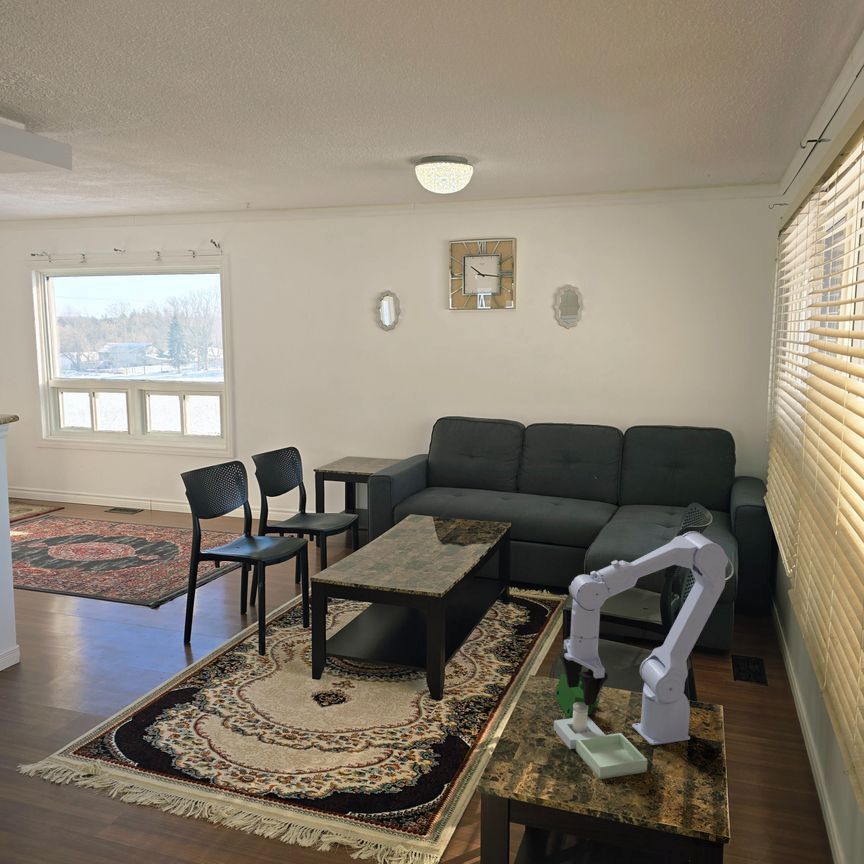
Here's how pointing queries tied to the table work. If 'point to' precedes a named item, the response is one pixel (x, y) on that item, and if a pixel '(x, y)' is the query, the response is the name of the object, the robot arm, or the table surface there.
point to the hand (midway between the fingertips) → (581, 695)
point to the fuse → (579, 717)
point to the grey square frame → (569, 736)
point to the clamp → (570, 696)
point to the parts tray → (611, 756)
